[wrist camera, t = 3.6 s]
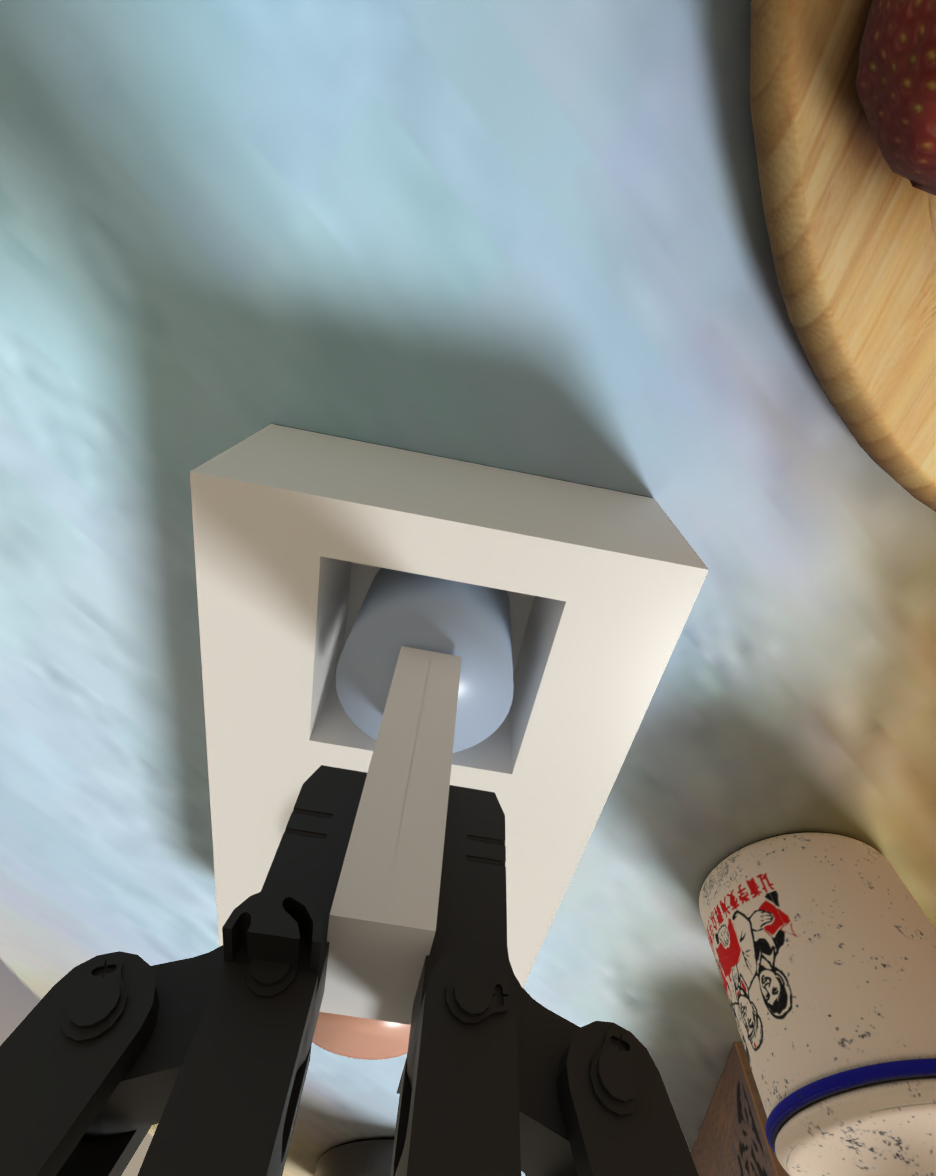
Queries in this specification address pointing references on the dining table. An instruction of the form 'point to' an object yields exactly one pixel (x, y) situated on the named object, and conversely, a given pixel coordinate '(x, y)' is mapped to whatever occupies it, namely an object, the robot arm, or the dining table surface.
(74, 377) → the dining table surface
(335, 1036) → the button terracotta
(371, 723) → the button slate
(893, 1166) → the teacup with lid
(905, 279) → the wooden plate with food
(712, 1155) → the tissue box cover
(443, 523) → the tray
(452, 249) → the dining table surface
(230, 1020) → the robot arm
